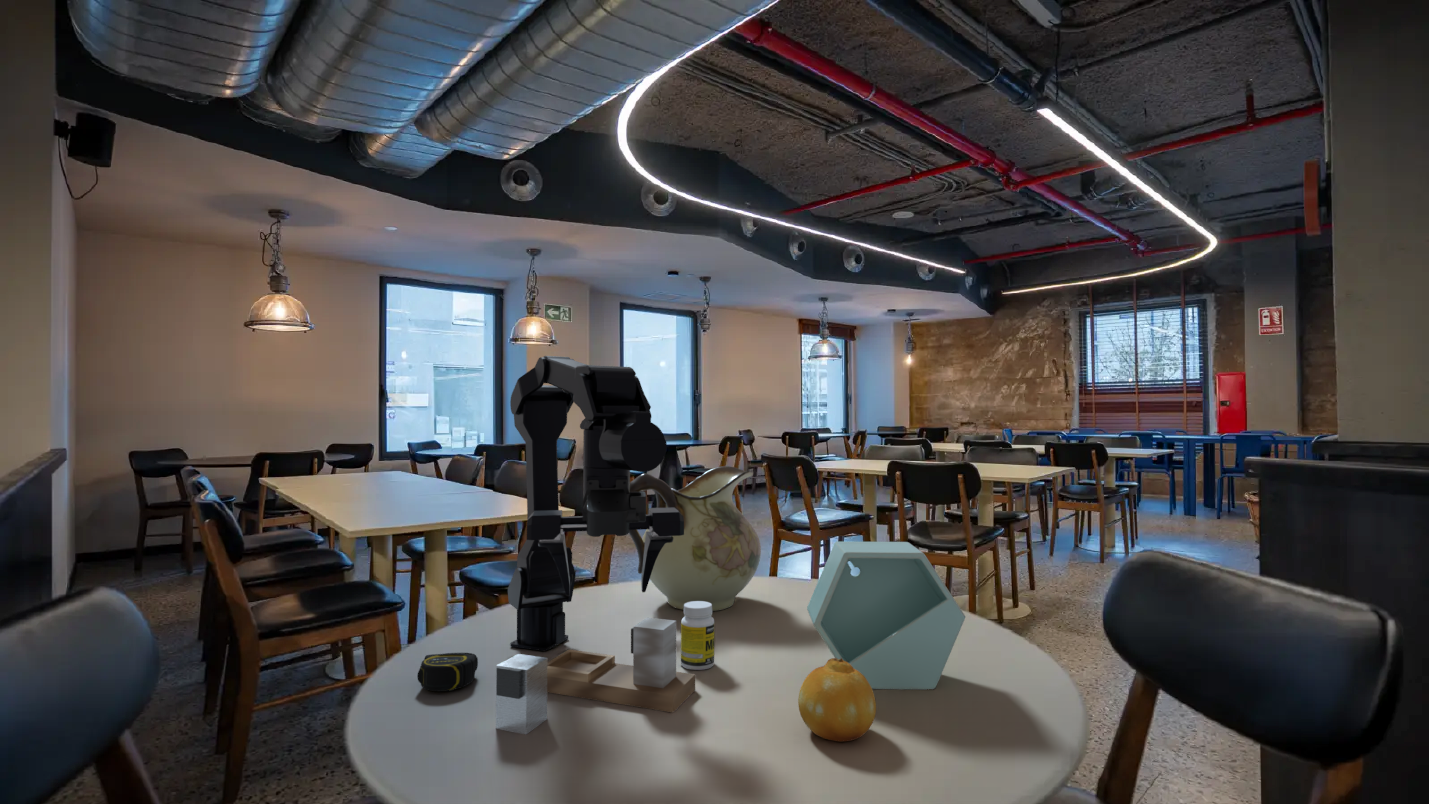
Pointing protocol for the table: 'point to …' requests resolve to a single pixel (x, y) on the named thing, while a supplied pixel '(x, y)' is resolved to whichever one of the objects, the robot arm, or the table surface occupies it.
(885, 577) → the planter
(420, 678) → the tape measure
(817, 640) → the table surface
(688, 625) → the supplement bottle
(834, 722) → the fruit
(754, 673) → the table surface
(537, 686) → the grey rectangular block
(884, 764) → the table surface
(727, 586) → the pitcher
